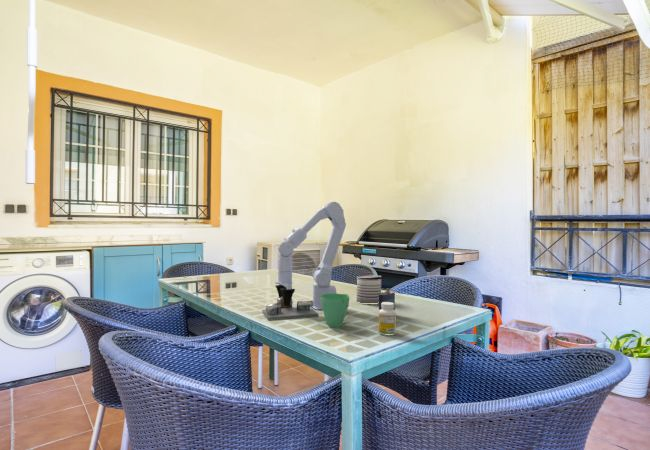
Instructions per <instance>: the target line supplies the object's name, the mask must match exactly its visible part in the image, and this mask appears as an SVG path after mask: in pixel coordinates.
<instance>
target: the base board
mask: <svg viewBox="0 0 650 450" xmlns="http://www.w3.org/2000/svg"><path fill="white" fill-rule="evenodd" d="M261 312H262V314H263V315H264V316H265V318H266V319H267V320H268V321H274V320H275V321H276V320H286V319H287V320H288V319H289V320H291V319H301V318H316V317H319V316H320V315H319V312H317V310H315V309H314V308H312V307H310V310H309V311H305V310H304V311H298V310H297V306H296V307H291V308H281V313H277V314H275V315H272V314H267V313H266V309H262V311H261Z"/></svg>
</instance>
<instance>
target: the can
mask: <svg viewBox="0 0 650 450" xmlns="http://www.w3.org/2000/svg"><path fill="white" fill-rule="evenodd" d="M381 277H382V275H360V276H356V277H355V278H356V303H357V302H360V303H378V302H379V294H380V293H382V278H381ZM360 303H359V304H360Z"/></svg>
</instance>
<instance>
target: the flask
mask: <svg viewBox="0 0 650 450" xmlns="http://www.w3.org/2000/svg"><path fill="white" fill-rule="evenodd" d="M391 289H392V288H386V290H385V291H384V292H383V291H381V293H380V294H379V304H378V312H379V311H380V309H382V307H381V303H382V302H392V303H394V308H393V310H395V309H396V308H395V307H396V304H395V302H396V301H395V300H396V299H395V298H396V297H395V296H396V295H395V294H396V292H395V291H391ZM395 311H396V310H395Z"/></svg>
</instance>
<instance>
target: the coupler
mask: <svg viewBox="0 0 650 450" xmlns="http://www.w3.org/2000/svg"><path fill="white" fill-rule="evenodd" d="M276 303H280V304H281V308H293V303H294V302H293V298H291V302H290V306H284V303H283V297H281V298H279V297H278V298H277V299H276Z"/></svg>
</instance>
